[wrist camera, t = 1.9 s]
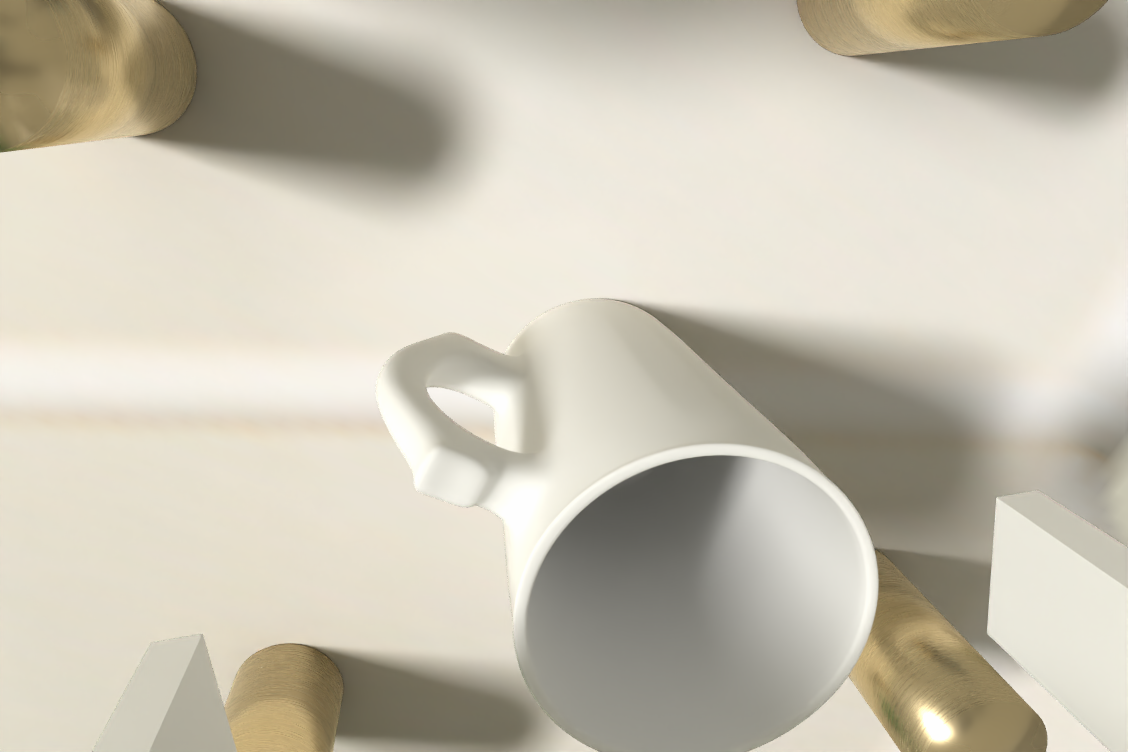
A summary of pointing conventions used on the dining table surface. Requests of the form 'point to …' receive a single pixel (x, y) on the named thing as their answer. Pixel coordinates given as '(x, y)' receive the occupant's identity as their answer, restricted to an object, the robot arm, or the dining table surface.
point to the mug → (644, 530)
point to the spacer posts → (306, 676)
